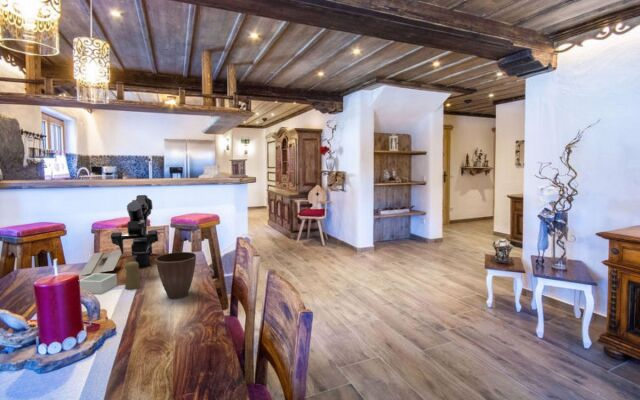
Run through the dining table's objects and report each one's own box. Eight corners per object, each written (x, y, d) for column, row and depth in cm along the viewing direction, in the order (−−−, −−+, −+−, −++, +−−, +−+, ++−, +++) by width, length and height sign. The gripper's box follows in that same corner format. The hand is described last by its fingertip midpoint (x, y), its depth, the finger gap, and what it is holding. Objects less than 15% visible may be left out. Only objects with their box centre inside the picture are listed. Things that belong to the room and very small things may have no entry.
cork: (128, 284, 151) (127, 260, 149) (143, 284, 151) (142, 260, 150) (122, 289, 145) (120, 264, 143) (137, 289, 145) (135, 264, 144)
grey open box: (94, 284, 150) (94, 273, 150) (117, 285, 150) (116, 273, 150) (77, 293, 141) (77, 281, 140) (101, 293, 140) (101, 281, 140)
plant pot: (158, 305, 129) (156, 263, 127) (156, 292, 142) (154, 254, 141) (199, 298, 136) (198, 259, 134) (194, 286, 149) (193, 250, 147)
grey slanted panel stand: (123, 279, 169) (130, 253, 180) (113, 270, 163) (121, 244, 173) (89, 284, 169) (98, 258, 179) (78, 275, 163) (88, 249, 173)
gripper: (110, 214, 153) (106, 244, 144) (156, 213, 160) (155, 241, 151) (114, 229, 161) (111, 258, 152) (158, 227, 168) (157, 254, 159)
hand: (134, 253), depth 153 cm, fingers open, 9 cm apart
